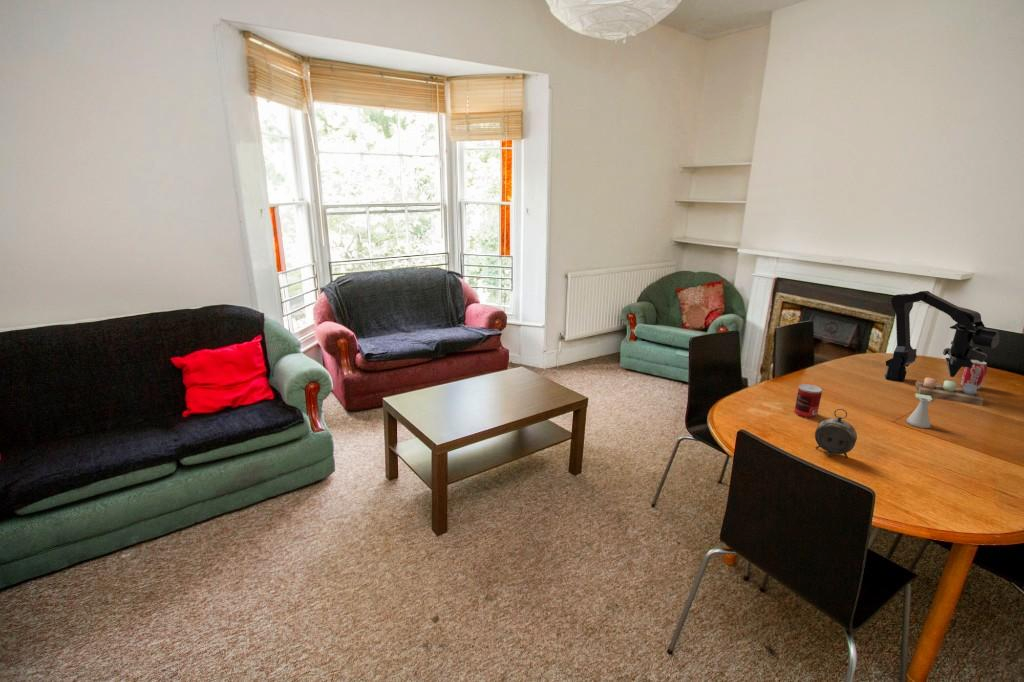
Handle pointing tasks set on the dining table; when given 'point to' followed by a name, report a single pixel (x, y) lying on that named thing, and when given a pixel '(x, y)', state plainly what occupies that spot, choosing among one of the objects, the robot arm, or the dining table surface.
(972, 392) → the grey rounded piece
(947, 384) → the sage button
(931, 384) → the terracotta button
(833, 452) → the alarm clock
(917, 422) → the flask
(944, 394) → the button board
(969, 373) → the soda can
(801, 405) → the canned food
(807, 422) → the dining table surface
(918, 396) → the chip
